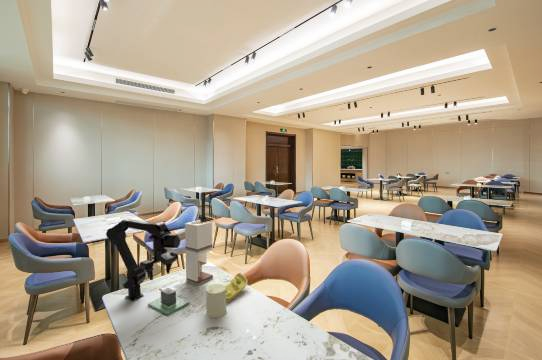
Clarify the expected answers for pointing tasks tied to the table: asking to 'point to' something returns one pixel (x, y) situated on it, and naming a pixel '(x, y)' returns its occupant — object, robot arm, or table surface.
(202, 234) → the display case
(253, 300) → the table surface
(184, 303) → the pcb board
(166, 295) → the grey ice pop
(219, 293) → the can
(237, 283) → the plastic component
